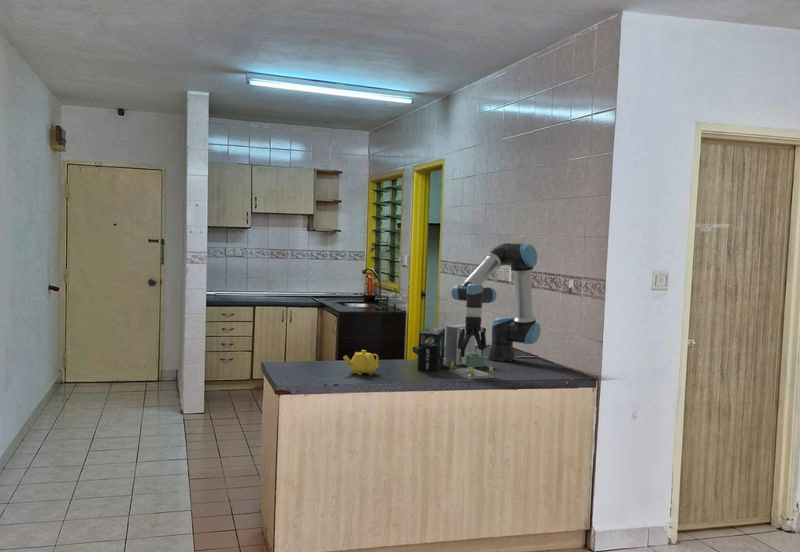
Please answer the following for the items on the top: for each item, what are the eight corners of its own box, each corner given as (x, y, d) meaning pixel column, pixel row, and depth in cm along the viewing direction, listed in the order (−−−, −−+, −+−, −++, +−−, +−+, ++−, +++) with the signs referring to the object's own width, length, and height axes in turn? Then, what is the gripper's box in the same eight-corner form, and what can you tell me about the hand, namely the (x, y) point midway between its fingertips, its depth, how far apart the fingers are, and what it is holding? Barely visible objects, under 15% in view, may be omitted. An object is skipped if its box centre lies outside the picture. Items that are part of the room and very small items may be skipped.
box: (437, 372, 353) (439, 333, 352) (417, 371, 354) (418, 332, 354) (444, 365, 375) (445, 328, 374) (425, 363, 377) (426, 327, 376)
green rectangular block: (472, 361, 358) (472, 350, 358) (483, 366, 345) (484, 355, 345) (459, 361, 356) (459, 350, 356) (469, 366, 343) (470, 355, 343)
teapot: (355, 369, 350) (355, 346, 350) (381, 372, 345) (382, 349, 345) (341, 374, 337) (342, 350, 336) (368, 377, 332) (369, 353, 331)
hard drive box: (463, 361, 390) (465, 323, 389) (474, 363, 385) (476, 325, 384) (444, 363, 379) (446, 325, 378) (455, 365, 374) (457, 327, 373)
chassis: (470, 370, 363) (471, 359, 362) (493, 377, 345) (494, 366, 345) (448, 371, 357) (448, 360, 356) (470, 379, 339) (471, 368, 339)
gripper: (486, 315, 358) (484, 361, 359) (451, 315, 348) (448, 362, 349) (495, 316, 351) (493, 363, 352) (459, 317, 341) (457, 365, 342)
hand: (471, 363), depth 351 cm, fingers closed on green rectangular block, 8 cm apart
